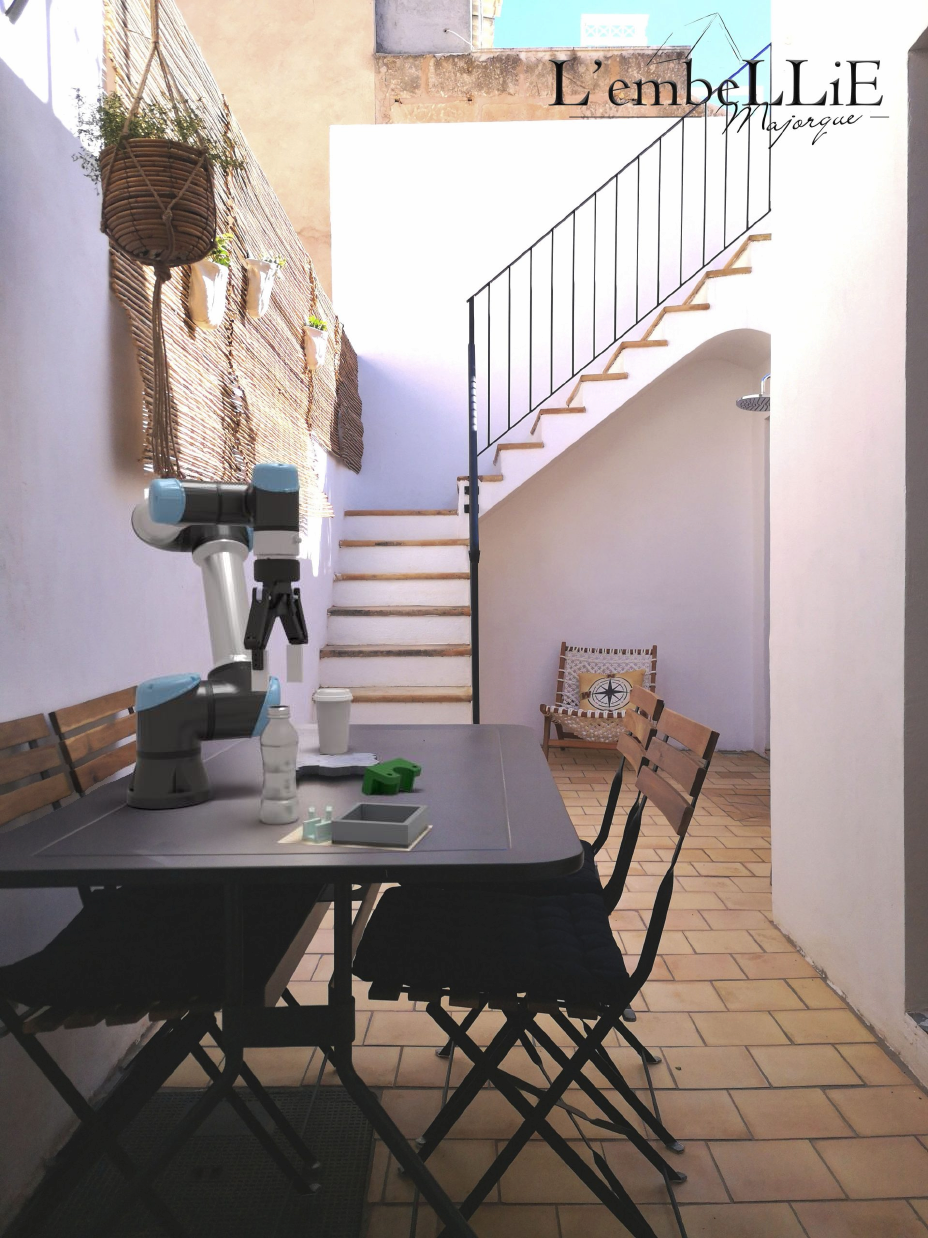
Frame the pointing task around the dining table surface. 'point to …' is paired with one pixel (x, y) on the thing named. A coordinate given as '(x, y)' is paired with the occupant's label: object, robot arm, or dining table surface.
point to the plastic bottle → (279, 768)
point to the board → (297, 834)
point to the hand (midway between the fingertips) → (278, 686)
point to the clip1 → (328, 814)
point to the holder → (380, 825)
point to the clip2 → (316, 830)
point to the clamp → (390, 777)
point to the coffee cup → (333, 719)
